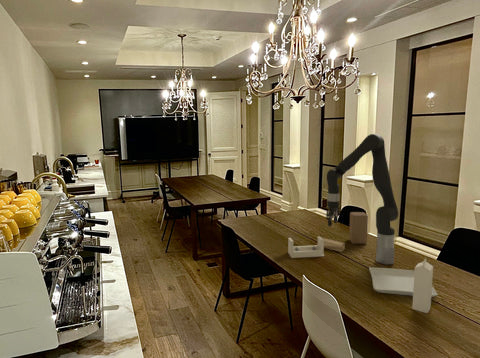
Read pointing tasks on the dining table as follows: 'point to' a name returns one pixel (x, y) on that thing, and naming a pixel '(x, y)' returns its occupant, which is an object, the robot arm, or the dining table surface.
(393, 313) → the dining table surface
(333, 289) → the dining table surface
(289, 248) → the peg cradle
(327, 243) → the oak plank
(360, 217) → the wooden block
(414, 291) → the milk
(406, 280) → the square plate
